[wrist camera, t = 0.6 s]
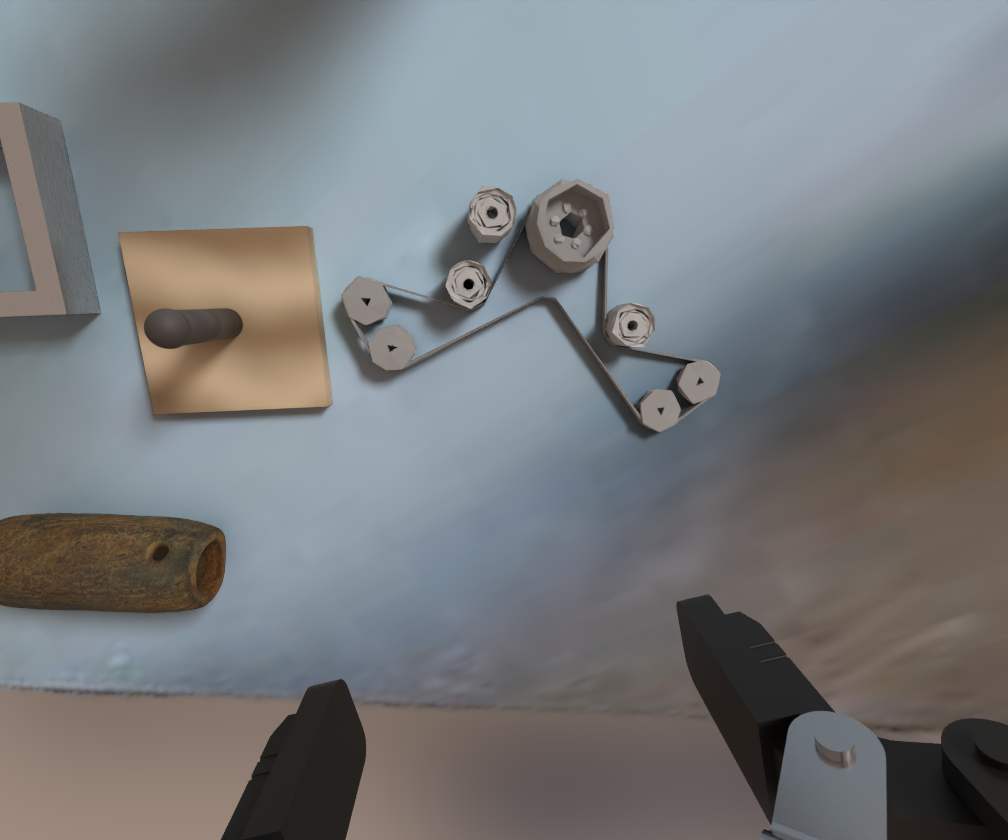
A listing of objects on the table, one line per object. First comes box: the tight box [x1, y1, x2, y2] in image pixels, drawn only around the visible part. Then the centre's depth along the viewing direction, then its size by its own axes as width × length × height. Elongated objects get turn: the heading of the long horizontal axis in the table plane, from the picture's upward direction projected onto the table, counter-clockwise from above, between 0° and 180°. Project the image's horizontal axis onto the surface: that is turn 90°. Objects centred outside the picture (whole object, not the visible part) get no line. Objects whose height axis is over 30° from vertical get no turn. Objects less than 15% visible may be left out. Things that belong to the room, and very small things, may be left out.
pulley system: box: [341, 179, 721, 432], centre depth 35 cm, size 27×5×15 cm
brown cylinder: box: [0, 513, 226, 613], centre depth 36 cm, size 15×7×7 cm, turn 92°
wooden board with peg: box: [118, 226, 332, 414], centre depth 32 cm, size 12×12×9 cm
